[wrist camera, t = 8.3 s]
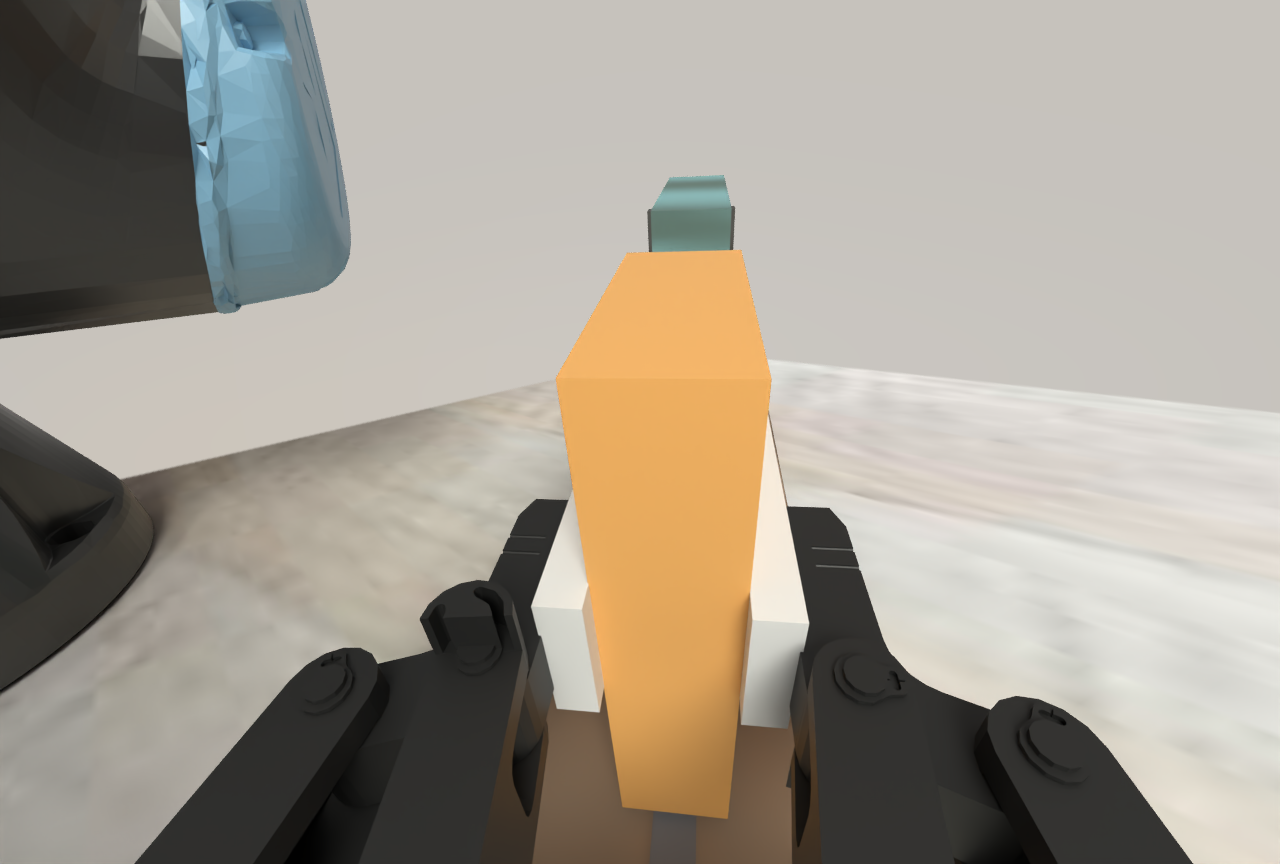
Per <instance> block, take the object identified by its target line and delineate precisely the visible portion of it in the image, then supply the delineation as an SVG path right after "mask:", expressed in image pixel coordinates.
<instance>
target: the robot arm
mask: <svg viewBox="0 0 1280 864" xmlns="http://www.w3.org/2000/svg"><path fill="white" fill-rule="evenodd" d="M350 246H351V234H350V220H349V211H348V203H347V196H346V190H345V184H344V178H343V172H342V166H341V160H340V155H339V150H338V144H337V139H336V134H335V129H334V124H333V118H332V113H331V108H330V104H329V99H328V95H327V90H326V86H325V81H324V76H323V72H322V67H321V63H320V58H319V54H318V50H317V46H316V41H315V36H314V32H313V28H312V24H311V20H310V16H309V13H308V8H307V4H306V0H0V339H1V338H10V337H18V336H26V335H34V334H42V333H51V332H58V331H66V330H75V329H82V328H92V327H99V326H107V325H116V324H123V323H132V322H141V321H148V320H157V319H165V318H173V317H182V316H189V315H198V314H205V313H214V312H219V313H224V314H226V313H232V312H236V311H238V310H239V309H240V307H241V306H242V305H247V304H253V303H258V302H263V301H269V300H274V299H279V298H284V297H289V296H295V295H300V294H305V293H311V292H315V291H318V290H320V289H321V288H323V287H325V286H328V285H329V284H331V283H332V282H333V281H334V280H335V279H336V278H337V277H338V276H339V275H340V274H341V272H342V271H343V270H344V269H345V267H346V264H347V261H348V259H349V255H350ZM153 532H154V528H153V523H152V520H151V518H150V516H149V515H148V514H147V512H146V511H145V510H144V508H143V507H142V506H141V504H140V503H139V502H138V500H137V499H136V498H135V497H134V495H133V494H132V493H131V491H130V490H129V489H128V487H127V486H126V485H125V484H124V483H123V482H122V481H121V480H120V479H119V478H117V477H116V476H115V475H114V474H112V473H111V472H109V471H107V470H106V469H104V468H103V467H101V466H99V465H98V464H96V463H95V462H93V461H91V460H90V459H88V458H86V457H84V456H83V455H82V454H80V453H78V452H77V451H75V450H74V449H72V448H70V447H69V446H67V445H66V444H64V443H62V442H61V441H59V440H57V439H56V438H54V437H53V436H51V435H50V434H48V433H46V432H45V431H43V430H42V429H40V428H38V427H37V426H35V425H33V424H32V423H30V422H29V421H27V420H25V419H24V418H22V417H21V416H19V415H17V414H15V413H14V412H12V411H11V410H9V409H8V408H6V407H5V406H3V405H1V404H0V690H1V689H3V688H4V687H6V686H7V685H8V684H10V683H11V682H13V681H14V680H16V679H17V678H19V677H20V676H22V675H23V674H24V673H26V672H27V671H29V670H30V669H31V668H33V667H34V666H36V665H37V664H38V663H40V662H41V661H42V660H44V659H45V658H46V657H48V656H49V655H50V654H52V653H53V652H54V651H56V650H57V649H58V648H59V647H61V646H62V645H63V644H64V643H66V642H67V641H68V640H69V639H71V638H72V637H73V636H74V635H75V634H77V633H78V632H79V631H80V630H81V629H82V628H84V627H85V626H86V625H87V624H88V623H89V622H90V621H92V620H93V619H94V618H95V617H96V616H97V615H98V614H99V613H100V612H101V611H102V610H103V609H104V608H105V607H106V606H107V605H108V604H109V603H110V602H111V601H112V600H113V599H114V598H115V597H116V596H117V595H118V594H119V593H120V592H121V591H122V589H123V588H124V587H125V586H126V585H127V584H128V582H129V581H130V580H131V579H132V577H133V576H134V575H135V573H136V572H137V570H138V569H139V567H140V566H141V564H142V563H143V561H144V559H145V558H146V556H147V553H148V551H149V549H150V546H151V543H152V540H153ZM420 621H421V623H422V626H423V628H424V630H425V632H426V635H427V637H428V639H429V641H430V644H431V646H432V648H433V650H431V651H428V652H425V653H422V654H418V655H414V656H410V657H405V658H401V659H397V660H393V661H388V662H384V663H380V664H377V662H376V660H375V658H374V657H373V655H372V654H371V653H369V652H367V651H365V650H363V649H361V648H342V649H339V650H336V651H332V652H329V653H326V654H324V655H322V656H321V657H319V658H317V659H316V660H314V661H312V662H311V663H309V664H307V665H306V666H305V667H304V668H303V669H302V670H301V671H300V672H298V673H297V674H296V675H295V676H294V677H293V678H292V679H291V680H290V681H289V682H288V683H287V685H286V686H285V687H284V688H283V689H282V691H281V692H280V693H279V694H278V695H277V696H276V698H275V699H274V700H273V701H272V702H271V704H270V705H269V706H268V707H267V708H266V709H265V711H264V712H263V713H262V714H261V715H260V716H259V718H258V719H257V720H256V721H255V722H254V724H253V725H252V726H251V727H250V728H249V729H248V731H247V732H246V733H245V734H244V735H243V736H242V738H241V739H240V740H239V741H238V742H237V744H236V745H235V746H234V747H233V748H232V749H231V751H230V752H229V753H228V754H227V755H226V756H225V758H224V759H223V760H222V761H221V762H220V764H219V765H218V766H217V767H216V768H215V769H214V771H213V772H212V773H211V774H210V775H209V777H208V778H207V779H206V780H205V781H204V782H203V784H202V785H201V786H200V787H199V788H198V789H197V791H196V792H195V793H194V794H193V795H192V797H191V798H190V799H189V800H188V801H187V802H186V804H185V805H184V806H183V807H182V808H181V809H180V811H179V812H178V813H177V814H176V815H175V817H174V818H173V819H172V820H171V821H170V822H169V824H168V825H167V826H166V827H165V828H164V829H163V831H162V832H161V833H160V834H159V835H158V837H157V838H156V839H155V840H154V841H153V842H152V844H151V845H150V846H149V847H148V848H147V850H146V851H145V852H144V853H143V854H142V855H141V857H140V858H139V859H138V860H137V861H136V862H135V864H532V862H533V854H534V847H535V839H536V832H537V824H538V817H539V810H540V802H541V795H542V787H543V780H544V773H545V765H546V758H547V750H548V743H549V736H548V725H547V721H546V718H547V714H548V710H549V706H550V702H551V699H552V695H554V699H555V703H556V707H557V709H566V710H577V711H589V712H600V707H601V701H602V696H603V690H604V681H603V675H602V668H601V662H600V655H599V649H598V642H597V636H596V629H595V622H594V616H593V609H592V603H591V596H590V590H589V583H588V582H587V576H586V570H585V563H584V557H583V550H582V544H581V537H580V531H579V525H578V518H577V512H576V505H575V499H574V492H573V489H572V492H571V495H570V498H569V500H549V499H536V500H535V501H533V502H532V503H531V504H530V505H529V506H528V507H527V508H526V509H525V510H524V511H523V512H522V513H521V514H520V515H519V516H518V519H517V521H516V523H515V525H514V527H513V529H512V531H511V534H510V538H508V540H507V542H506V544H505V547H504V549H503V554H501V555H500V557H499V560H498V562H497V564H496V566H495V568H494V570H493V573H492V575H491V577H490V579H489V581H481V580H476V581H471V582H466V583H461V584H458V585H456V586H454V587H452V588H450V589H448V590H446V591H444V592H443V593H441V594H440V595H439V596H438V597H437V598H436V599H434V600H433V601H432V602H431V603H430V604H429V605H428V606H427V608H426V610H425V611H424V613H423V614H422V616H421V617H420ZM740 714H741V725H750V726H761V727H772V728H784V729H788V725H789V720H790V715H791V721H792V729H793V736H794V743H795V746H794V750H793V755H792V759H791V764H790V768H789V772H788V778H787V783H786V787H788V788H791V812H792V864H1193V863H1192V862H1191V860H1190V859H1189V857H1188V856H1187V855H1186V853H1185V852H1184V851H1183V849H1182V848H1181V847H1180V845H1179V844H1178V843H1177V841H1176V840H1175V839H1174V837H1173V836H1172V834H1171V833H1170V832H1169V830H1168V829H1167V828H1166V826H1165V825H1164V824H1163V822H1162V821H1161V820H1160V818H1159V817H1158V816H1157V814H1156V813H1155V811H1154V810H1153V809H1152V807H1151V806H1150V805H1149V803H1148V802H1147V801H1146V799H1145V798H1144V797H1143V795H1142V794H1141V793H1140V791H1139V790H1138V789H1137V787H1136V786H1135V784H1134V783H1133V782H1132V780H1131V779H1130V778H1129V776H1128V775H1127V774H1126V772H1125V771H1124V770H1123V768H1122V767H1121V766H1120V764H1119V763H1118V761H1117V760H1116V759H1115V757H1114V756H1113V755H1112V753H1111V752H1110V751H1109V749H1108V748H1107V747H1106V746H1105V745H1104V744H1103V743H1102V742H1101V741H1100V739H1099V738H1098V737H1097V736H1096V735H1095V734H1094V733H1093V732H1092V731H1091V730H1090V729H1089V728H1088V727H1087V726H1086V725H1084V724H1083V723H1082V722H1080V721H1079V720H1077V719H1076V718H1074V717H1073V716H1072V715H1070V714H1069V713H1067V712H1066V711H1064V710H1063V709H1061V708H1058V707H1056V706H1053V705H1051V704H1049V703H1046V702H1044V701H1042V700H1039V699H1034V698H1027V697H1020V696H1014V697H1011V698H1007V699H1003V700H999V701H998V702H997V703H996V705H995V706H994V707H993V708H992V709H991V710H990V709H987V708H984V707H981V706H979V705H976V704H973V703H970V702H967V701H965V700H962V699H959V698H956V697H954V696H951V695H948V694H945V693H943V692H940V691H938V690H936V689H934V688H932V687H929V686H927V685H925V684H924V683H922V682H921V681H919V680H918V679H916V678H915V677H913V676H912V675H910V674H909V673H908V672H907V671H906V670H905V668H904V667H903V666H902V665H901V664H900V663H899V662H898V661H897V659H896V658H895V657H894V656H892V655H891V653H890V652H889V650H888V648H887V646H886V644H885V642H884V640H883V637H882V634H881V631H880V628H879V625H878V622H877V619H876V616H875V613H874V610H873V607H872V604H871V601H870V598H869V595H868V592H867V589H866V586H865V583H864V580H863V577H862V574H861V571H860V570H859V565H858V562H857V559H856V555H855V552H853V546H852V543H851V540H850V537H849V534H848V531H847V528H846V526H845V525H844V524H843V523H842V522H841V521H840V519H839V518H838V517H837V516H836V515H835V514H834V513H833V512H832V511H831V510H830V508H817V507H789V506H786V503H785V498H784V493H783V488H782V483H781V478H780V473H779V467H778V462H777V457H776V452H775V447H774V442H773V437H772V432H771V427H770V422H769V417H768V419H767V429H766V439H765V449H764V459H763V469H762V479H761V490H760V500H759V510H758V520H757V530H756V540H755V550H754V560H753V570H752V580H751V590H750V599H749V609H748V619H747V629H746V639H745V649H744V659H743V669H742V679H741V688H740Z"/></svg>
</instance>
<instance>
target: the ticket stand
mask: <svg viewBox="0 0 1280 864" xmlns="http://www.w3.org/2000/svg"><path fill="white" fill-rule="evenodd" d="M647 213H648V239H649V252H679V251H719V250H733V240H734V219H735V207H734V206H731V204H730V200H729V195H728V191H727V187H726V183H725V178H724V175H720V176H696V177H673V178H669V180H668V182H667V184H666V186H665V187H664V189H663V191H662V193H661V194H660V196H659V198H658V199H657V201H656V203H655V205H654V206H653V208H652V209H649V210H648V212H647ZM768 417H769V422H770V427H771V432H772V437H773V442H774V447H775V452H776V457H777V462H778V467H779V473H780V478H781V483H782V488H783V493H784V498H785V503H786V506H788V505H787V500H786V495H785V490H784V485H783V480H782V475H781V470H780V465H779V460H778V455H777V450H776V445H775V440H774V435H773V430H772V425H771V420H770V415H769V410H768ZM546 721H547V725H548V736H549V743H548V750H547V758H546V765H545V773H544V780H543V787H542V795H541V802H540V810H539V817H538V824H537V832H536V839H535V847H534V854H533V862H532V864H792V812H791V788H788V787H786V783H787V778H788V772H789V768H790V764H791V759H792V755H793V750H794V746H795V743H794V736H793V729H792V721H791V715H790V720H789V725H788V729H784V728H772V727H761V726H750V725H741V714H740V701H739V711H738V721H737V731H736V741H735V751H734V761H733V771H732V781H731V792H730V802H729V812H728V819H723V818H714V817H705V816H696V815H687V814H679V813H670V812H661V811H652V810H643V809H634V808H625V807H622V801H621V795H620V788H619V782H618V775H617V769H616V763H615V756H614V750H613V743H612V737H611V730H610V724H609V717H608V711H607V705H606V698H605V692H604V690H603V696H602V701H601V707H600V712H589V711H577V710H566V709H557V707H556V703H555V699H554V695H552V699H551V702H550V706H549V710H548V714H547V718H546Z"/></svg>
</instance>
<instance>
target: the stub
mask: <svg viewBox="0 0 1280 864" xmlns="http://www.w3.org/2000/svg"><path fill="white" fill-rule="evenodd" d="M556 383H557V390H558V396H559V402H560V409H561V415H562V422H563V428H564V435H565V441H566V447H567V454H568V460H569V467H570V473H571V480H572V486H573V492H574V499H575V505H576V512H577V518H578V525H579V531H580V537H581V544H582V550H583V557H584V563H585V570H586V576H587V582H588V583H589V590H590V596H591V603H592V609H593V616H594V622H595V629H596V636H597V642H598V649H599V655H600V662H601V668H602V675H603V681H604V692H605V698H606V705H607V711H608V717H609V724H610V730H611V737H612V743H613V750H614V756H615V763H616V769H617V775H618V782H619V788H620V795H621V801H622V807H625V808H634V809H643V810H652V811H661V812H670V813H679V814H687V815H696V816H705V817H714V818H723V819H728V812H729V802H730V792H731V781H732V771H733V761H734V751H735V741H736V731H737V721H738V711H739V701H740V688H741V679H742V669H743V659H744V649H745V639H746V629H747V619H748V609H749V599H750V590H751V580H752V570H753V560H754V550H755V540H756V530H757V520H758V510H759V500H760V490H761V479H762V469H763V459H764V449H765V439H766V429H767V419H768V409H769V399H770V389H771V375H770V371H769V367H768V363H767V358H766V354H765V350H764V346H763V341H762V337H761V333H760V328H759V324H758V320H757V315H756V311H755V307H754V303H753V298H752V294H751V290H750V285H749V281H748V277H747V273H746V269H745V264H744V260H743V255H742V251H741V250H719V251H679V252H645V253H644V252H640V253H627V254H626V256H625V258H624V259H623V261H622V263H621V264H620V266H619V268H618V270H617V272H616V273H615V275H614V277H613V278H612V280H611V282H610V284H609V286H608V287H607V289H606V291H605V293H604V294H603V296H602V298H601V300H600V301H599V303H598V305H597V307H596V309H595V310H594V312H593V314H592V315H591V317H590V319H589V321H588V323H587V324H586V326H585V328H584V330H583V331H582V333H581V335H580V337H579V338H578V340H577V342H576V343H575V345H574V347H573V349H572V351H571V352H570V354H569V356H568V358H567V360H566V361H565V363H564V365H563V366H562V368H561V370H560V372H559V373H558V375H557V377H556Z"/></svg>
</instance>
